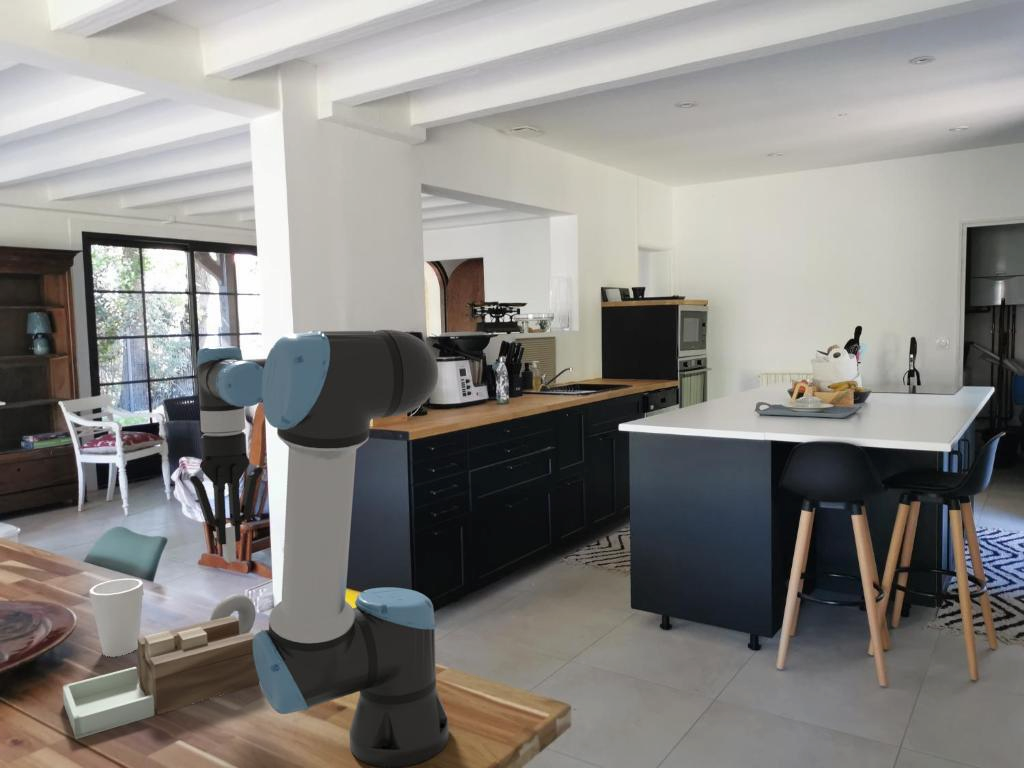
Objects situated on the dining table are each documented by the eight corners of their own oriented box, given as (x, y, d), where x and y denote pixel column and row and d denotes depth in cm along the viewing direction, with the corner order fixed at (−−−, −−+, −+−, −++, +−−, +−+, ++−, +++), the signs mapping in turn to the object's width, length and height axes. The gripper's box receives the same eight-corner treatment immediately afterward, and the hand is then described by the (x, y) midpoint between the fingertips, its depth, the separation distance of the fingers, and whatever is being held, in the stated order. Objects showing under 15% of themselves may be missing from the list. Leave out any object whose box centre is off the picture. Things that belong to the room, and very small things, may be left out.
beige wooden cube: (208, 655, 137) (206, 633, 137) (184, 662, 135) (183, 639, 134) (201, 648, 140) (200, 626, 140) (178, 654, 138) (177, 632, 138)
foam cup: (156, 640, 158) (152, 579, 157) (129, 661, 149) (125, 595, 148) (112, 639, 159) (108, 578, 158) (83, 659, 150) (78, 594, 149)
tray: (154, 715, 128) (153, 696, 128) (75, 739, 122) (74, 719, 121) (136, 684, 140) (135, 666, 139) (63, 704, 133) (62, 685, 133)
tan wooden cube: (175, 659, 136) (174, 637, 135) (150, 666, 133) (149, 643, 133) (169, 652, 139) (168, 630, 139) (145, 658, 137) (144, 636, 136)
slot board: (259, 684, 139) (257, 638, 138) (157, 714, 129) (154, 665, 128) (235, 657, 150) (233, 614, 149) (139, 683, 140) (137, 637, 139)
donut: (218, 653, 152) (215, 604, 151) (207, 649, 154) (204, 601, 153) (260, 635, 160) (258, 588, 159) (249, 632, 162) (247, 585, 161)
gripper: (252, 426, 146) (258, 548, 148) (179, 433, 138) (187, 562, 141) (266, 431, 140) (272, 558, 142) (191, 438, 132) (198, 573, 135)
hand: (229, 560), depth 141 cm, fingers closed
